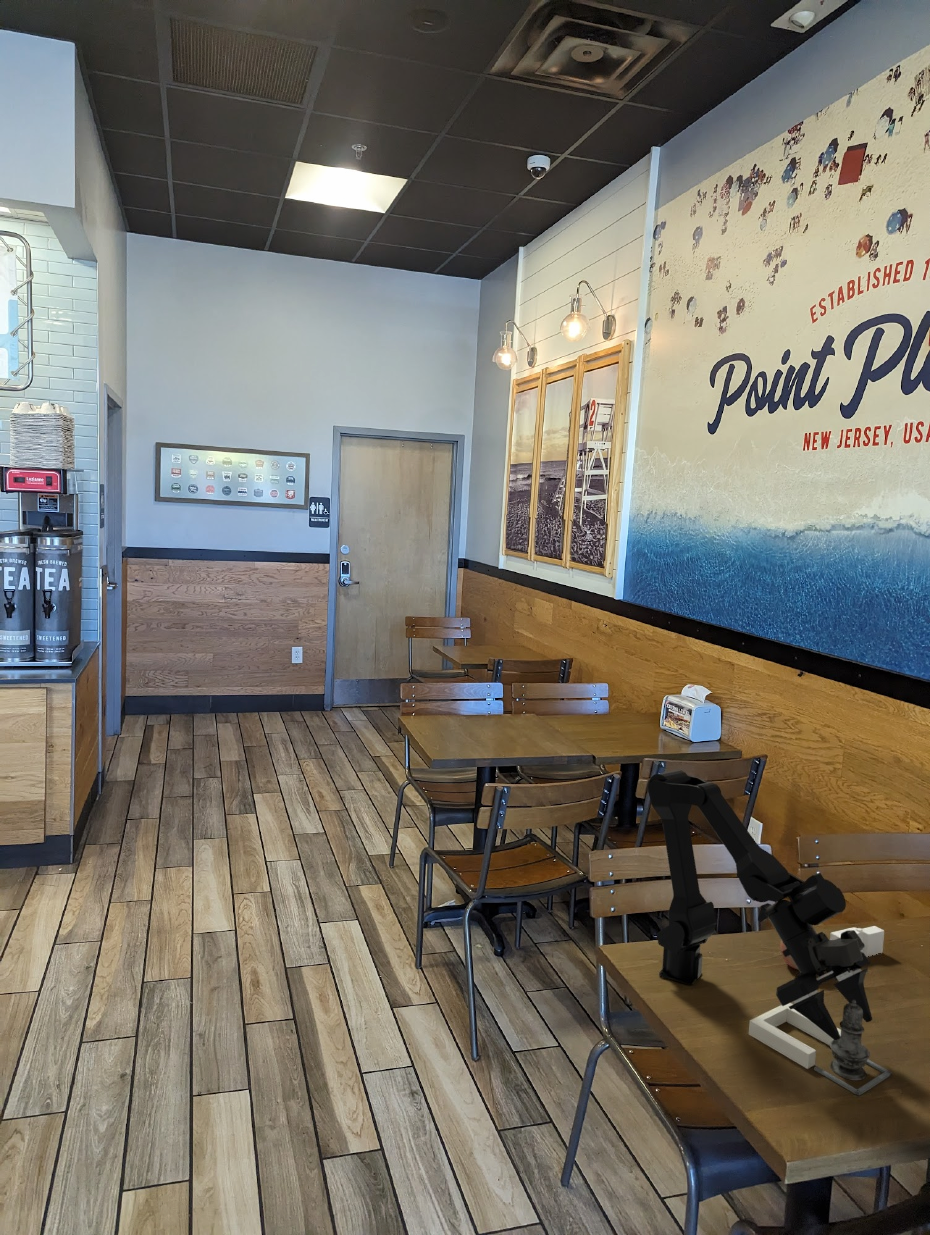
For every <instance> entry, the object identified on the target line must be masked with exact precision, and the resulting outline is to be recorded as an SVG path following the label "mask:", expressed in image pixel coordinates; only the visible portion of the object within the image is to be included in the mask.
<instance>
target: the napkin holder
mask: <svg viewBox="0 0 930 1235" xmlns="http://www.w3.org/2000/svg"><path fill="white" fill-rule="evenodd" d="M848 930H854V931H855V932H856V933H857V935H858V936H859V937H860V939H861V941H862V942H863V943H864V945H865V947H864V948H863V949H862V950H861V952H863V953H864V954H865V956H866V957H867V958H869V957H872V955H873V956H877V955H879V954H878V953H881V954H883V949H884V938H885V930H884V929H882V928H880V927H878V926H876V925H873V926H868V927H864V928H861V927H858V928H857V927H856V926H854V927H849V928H845V929H841V930H836V931H832V932H830V933H829V934H830V935H829V940H835V939H838V938H840V937H841V933H843V932H845V931H848ZM876 954H877V955H876ZM868 956H869V957H868Z"/></svg>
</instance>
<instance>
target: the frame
mask: <svg viewBox="0 0 930 1235" xmlns="http://www.w3.org/2000/svg"><path fill="white" fill-rule="evenodd" d="M866 1064H867V1065H868V1066H870V1067H872V1068H873V1069H876V1070H878V1071H879V1072H880V1074H879V1075H878V1076H876V1077H874V1078H873V1079H871V1080H870V1081H868V1082H866V1083H865V1084H863V1085H862V1086H860V1087H859V1088H855V1087H853V1086H852V1085H850V1084H849V1083H846V1082H845V1081H843V1080H842V1079H840V1078H838V1077H837V1076H834V1075H833V1074H831V1073H830V1072H828V1071H826V1070H824V1069H823V1068H821V1067H819V1066H818V1065H817V1066H813V1067H814V1068H813V1070H814V1071H815V1072H817V1073H819V1074H821V1075H822V1076H824V1077H825V1078H827V1079H829V1080H831V1081H832V1082H834V1083H836V1084H838V1085H839V1086H841V1087H843V1088H845V1089H847V1090H848V1091H849V1092H851V1093H853V1094H855V1095H856V1096H858V1097H860V1096H862V1095H863V1094H864V1093H866V1092H867V1091H869V1090H870V1089H872V1088H874V1087H875V1086H877V1085H878V1084H880V1083H881V1082H883V1081H884V1080H886V1079H887V1078H889V1077H890V1076H892V1074H893V1071H890V1070H888V1069H886V1068H884V1067H883V1066H881V1065H879V1064H877V1063H875V1062H873V1061H872V1060H870V1059H869V1058H868V1059H867V1062H866V1063H865V1065H866Z"/></svg>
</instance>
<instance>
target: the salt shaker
mask: <svg viewBox="0 0 930 1235" xmlns="http://www.w3.org/2000/svg"><path fill="white" fill-rule="evenodd" d="M855 1003H856V1001H855V999H854V1000H853V1001H852V1003H849V1002H848V1003H846V1004H845V1005H843V1010H842V1020H841V1021H840V1022H839V1027H840V1030H841V1036H840V1037H841V1038H840V1039H838V1040H833V1041H831V1043H830V1046H829V1047H830V1049H831V1053H832V1056H833V1058H834V1060H832V1061H831V1062H830V1064H829V1066H830V1069H831V1070H832V1072H833V1073H835V1074H836V1075H837V1076H839V1077H841V1078H843V1079H846V1080H848V1081H849V1080H850V1081H861V1080H864V1079H866V1077H867V1071H866V1070H865V1068H864V1066H865V1065H866V1062H867V1059H868V1060H869V1059H870V1057H871V1054H870V1051H869V1049H868V1048H867V1047H866V1046H865V1045H864V1044H862V1034H863V1033H864V1032H865V1028H864V1026H863V1020H864V1019H863V1010H862V1008H861V1007H860V1006H858V1005H857V1004H855Z"/></svg>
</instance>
